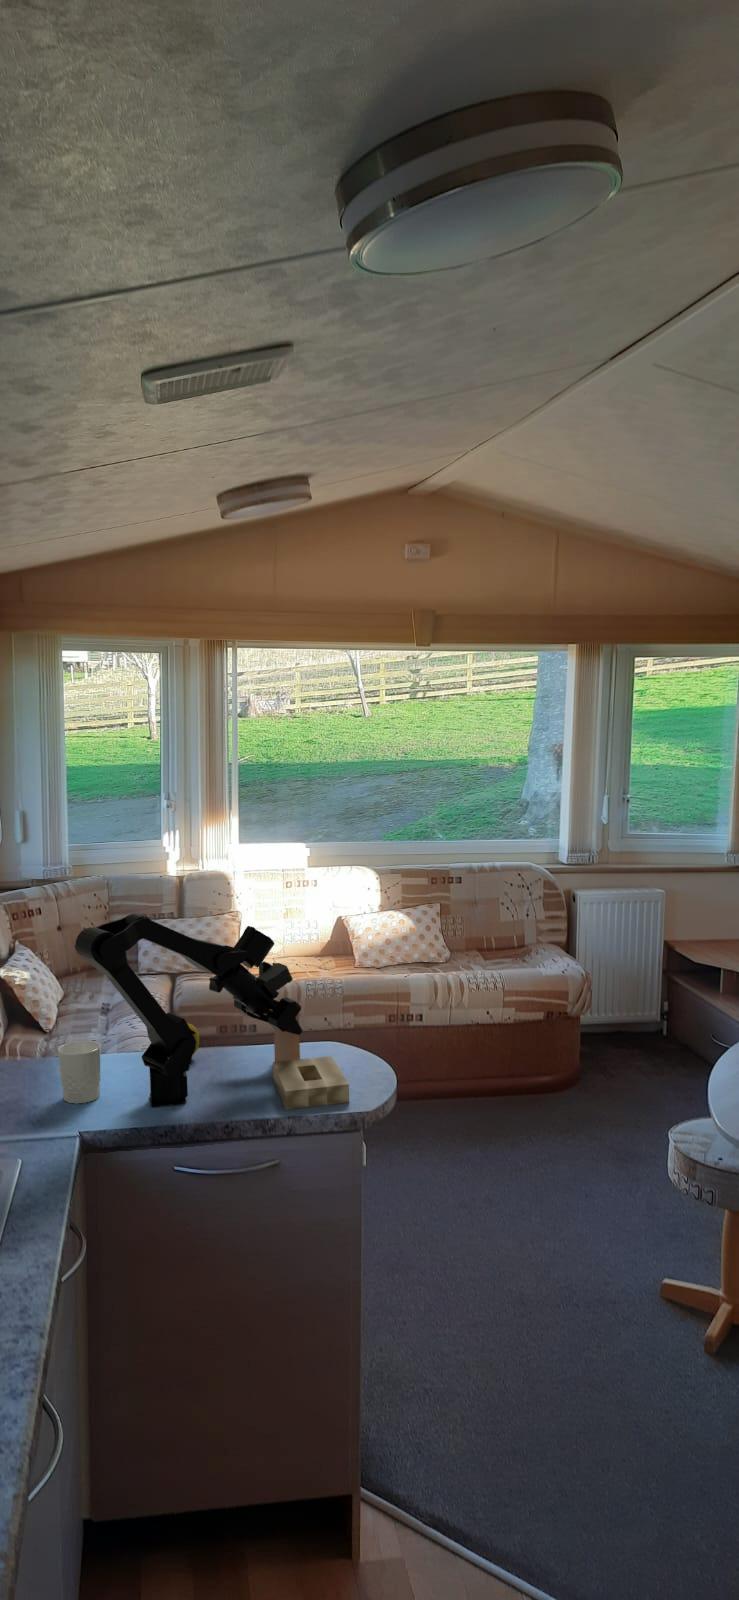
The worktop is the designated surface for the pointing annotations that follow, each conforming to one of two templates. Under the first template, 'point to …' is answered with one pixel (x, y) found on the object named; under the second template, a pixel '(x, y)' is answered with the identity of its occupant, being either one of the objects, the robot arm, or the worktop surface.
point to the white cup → (80, 1071)
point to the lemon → (195, 1036)
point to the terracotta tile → (286, 1045)
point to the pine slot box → (310, 1082)
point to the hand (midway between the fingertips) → (292, 1028)
